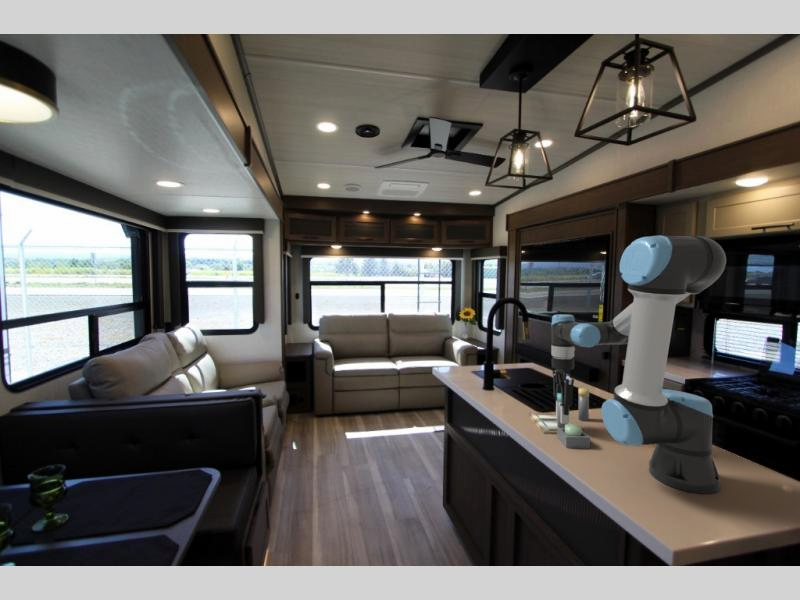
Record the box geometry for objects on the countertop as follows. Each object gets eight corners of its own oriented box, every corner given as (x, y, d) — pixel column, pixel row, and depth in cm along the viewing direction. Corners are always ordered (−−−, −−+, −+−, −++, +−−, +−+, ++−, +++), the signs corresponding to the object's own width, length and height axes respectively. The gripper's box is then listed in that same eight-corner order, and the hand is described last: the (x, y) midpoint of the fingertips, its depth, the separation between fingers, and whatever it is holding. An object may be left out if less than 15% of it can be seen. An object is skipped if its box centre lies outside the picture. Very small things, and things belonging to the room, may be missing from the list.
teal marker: (569, 428, 129) (570, 395, 128) (559, 428, 129) (559, 395, 128) (565, 424, 132) (565, 392, 132) (555, 424, 132) (555, 392, 132)
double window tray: (581, 433, 126) (581, 430, 126) (543, 433, 127) (543, 429, 127) (561, 415, 144) (561, 412, 144) (528, 415, 145) (528, 412, 145)
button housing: (589, 448, 115) (590, 437, 115) (566, 447, 116) (566, 437, 116) (579, 438, 123) (579, 428, 123) (557, 438, 123) (557, 428, 123)
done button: (584, 441, 117) (584, 429, 116) (568, 441, 117) (568, 429, 117) (577, 434, 122) (577, 423, 121) (562, 434, 122) (562, 423, 122)
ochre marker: (590, 421, 138) (590, 390, 138) (580, 421, 138) (581, 390, 138) (586, 417, 142) (586, 387, 141) (576, 417, 142) (576, 387, 142)
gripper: (583, 361, 121) (583, 430, 122) (564, 352, 138) (563, 412, 139) (561, 361, 121) (561, 429, 122) (544, 352, 138) (544, 412, 139)
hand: (562, 420), depth 130 cm, fingers closed on teal marker, 4 cm apart
